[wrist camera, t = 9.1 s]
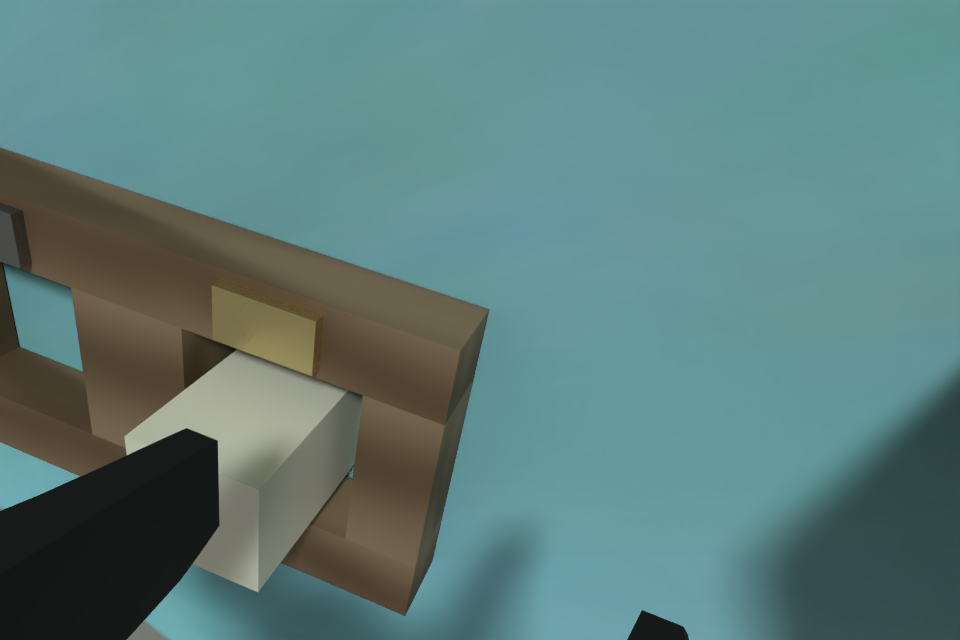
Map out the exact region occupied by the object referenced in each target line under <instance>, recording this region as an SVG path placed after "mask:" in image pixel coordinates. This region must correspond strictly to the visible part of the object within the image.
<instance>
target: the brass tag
mask: <svg viewBox="0 0 960 640" xmlns="http://www.w3.org/2000/svg"><path fill="white" fill-rule="evenodd" d="M323 316H324V315H321V314H318V313H316V312H313V311H310V310H307V309H304V308H301V307H298V306H296V305H293V304H290V303H287V302H284V301H281V300H278V299H275V298H273V297H270V296H267V295H264V294H261V293H258V292H255V291H253V290H250V289H247V288H244V287H241V286H238V285H235V284H232V283H230V282H227V281H224V280H219V281H218V282H216V283H214V284H213V285H212V326H213V340H215V341H217V342H220V343H223V344H226V345H228V346H231V347H234V348H236V349H239V350H242V351H245V352H247V353H250V354H253V355H255V356H258V357H261V358H264V359H266V360H269V361H272V362H274V363H277V364H280V365H283V366H285V367H288V368H291V369H293V370H296V371H299V372H301V373H304V374H307V375H310V376H313V375H314V374H315V373H316V372H317V371H318V370H319V368H320V355H321V342H322V329H323Z"/></svg>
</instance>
